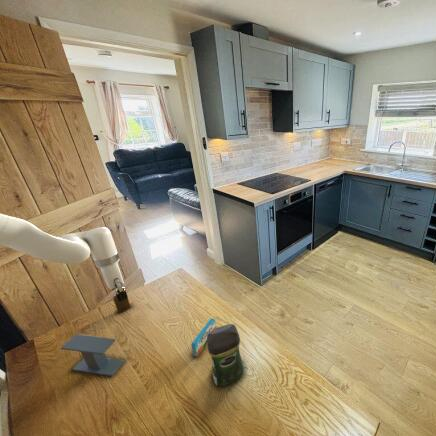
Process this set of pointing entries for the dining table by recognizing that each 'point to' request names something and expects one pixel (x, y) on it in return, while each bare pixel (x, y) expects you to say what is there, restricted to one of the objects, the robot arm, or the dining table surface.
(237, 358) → the coffee jar
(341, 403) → the dining table surface
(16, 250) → the robot arm
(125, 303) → the domino
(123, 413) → the dining table surface
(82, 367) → the pedestal
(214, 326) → the turquoise printed box
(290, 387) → the dining table surface
